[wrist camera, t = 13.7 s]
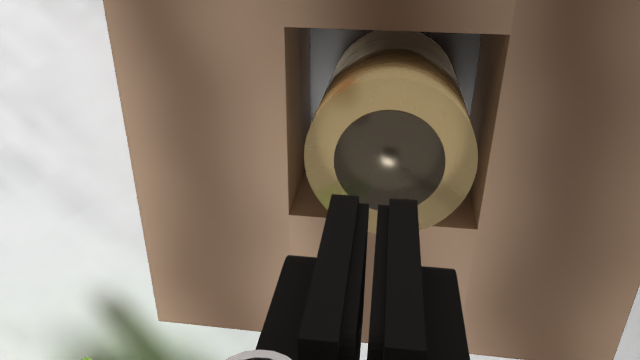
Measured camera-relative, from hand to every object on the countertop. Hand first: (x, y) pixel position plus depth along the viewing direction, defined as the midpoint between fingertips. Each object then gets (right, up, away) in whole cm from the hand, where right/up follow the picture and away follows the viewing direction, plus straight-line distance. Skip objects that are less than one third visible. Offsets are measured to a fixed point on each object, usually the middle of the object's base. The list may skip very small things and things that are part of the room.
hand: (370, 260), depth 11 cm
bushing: (+2, +5, +11) cm, 12 cm away
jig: (+2, +5, +11) cm, 12 cm away
